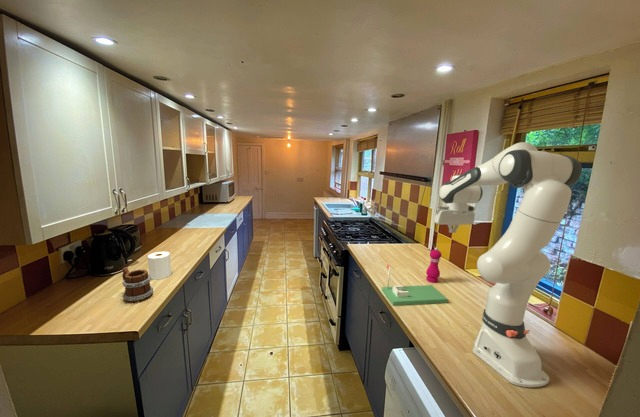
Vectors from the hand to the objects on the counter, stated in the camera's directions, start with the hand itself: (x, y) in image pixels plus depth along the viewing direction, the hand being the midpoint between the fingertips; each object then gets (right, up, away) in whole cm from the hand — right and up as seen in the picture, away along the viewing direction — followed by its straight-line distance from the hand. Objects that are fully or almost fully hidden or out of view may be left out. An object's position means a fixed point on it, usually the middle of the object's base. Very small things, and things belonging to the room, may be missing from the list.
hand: (452, 232), depth 135 cm
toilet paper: (-157, -25, +8) cm, 159 cm away
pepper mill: (-4, -29, +15) cm, 33 cm away
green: (-22, -32, -4) cm, 39 cm away
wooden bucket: (-155, -29, -13) cm, 159 cm away
